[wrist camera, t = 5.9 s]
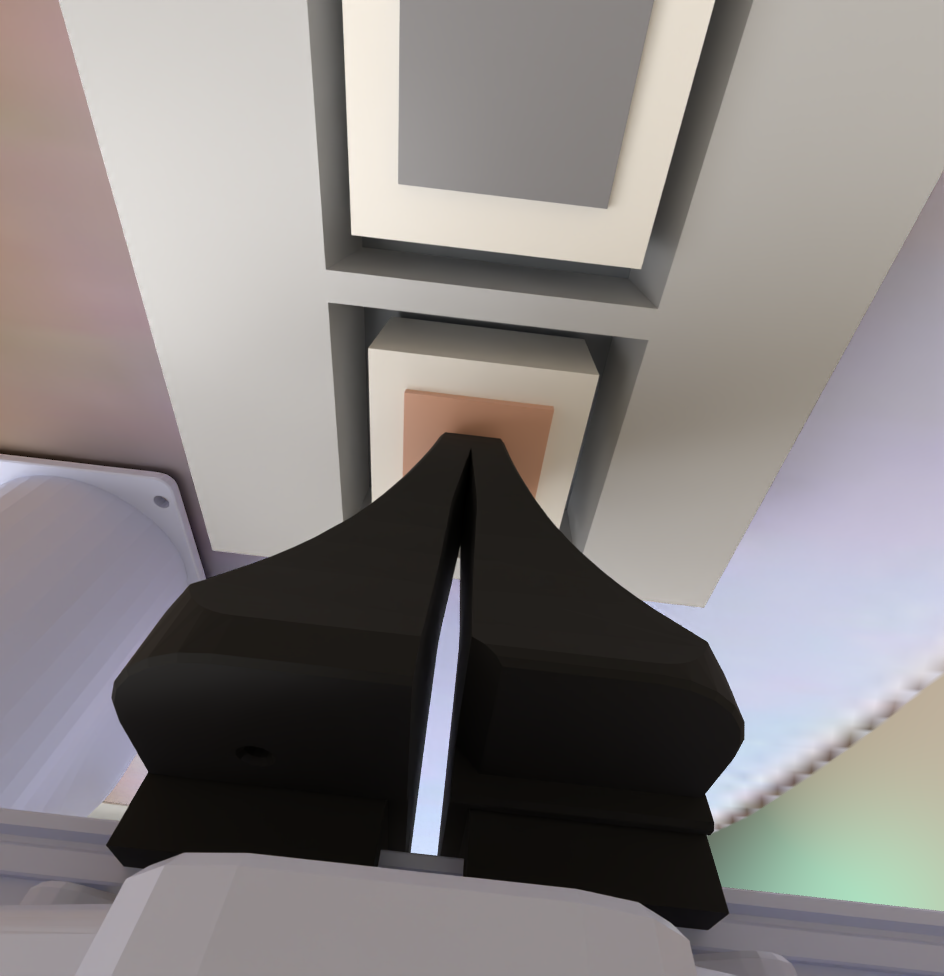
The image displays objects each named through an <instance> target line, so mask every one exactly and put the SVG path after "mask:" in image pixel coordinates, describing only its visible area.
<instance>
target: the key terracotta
mask: <svg viewBox="0 0 944 976" xmlns="http://www.w3.org/2000/svg"><path fill="white" fill-rule="evenodd" d="M368 365H369V405H370V445H371V485H372V502H374V501H375V500H376V499H378V498H379V497H380V496H381V495H383V494H384V493H385V492H386V491H387V490H389V489H390V488H391V487H392V486H393V485H394V484H396V483H397V482H398V481H399V480H400V479H401V478H402V477H404V476H405V475H406V474H407V473H408V472H409V471H410V470H411V469H412V468H413V467H414V466H415V465H416V464H417V463H418V462H419V461H420V460H421V459H422V457H423V456H424V455H425V454H426V453H427V452H428V451H429V450H430V448H431V447H432V446H433V445H434V444H435V442H436V441H437V440H438V438H439V437H440V436H441V435H442V434H444V433H445V432H448V433H457V434H466V435H474V436H483V437H492V438H500V439H501V440H502V441H503V442H504V444H505V446H506V449H507V451H508V453H509V455H510V457H511V460H512V461H513V463H514V465H515V467H516V469H517V471H518V473H519V474H520V476H521V478H522V479H523V481H524V483H525V484H526V486H527V487H528V489H529V491H530V492H531V494H532V495H533V497H534V498H535V500H536V501H537V502H538V504H539V505H540V506H541V508H542V509H543V511H544V512H545V513H546V515H547V516H548V517H549V518H550V520H551V521H552V522H553V523H554V525H555V526H556V527H557V528H558V529H559V528H560V524H561V521H562V517H563V513H564V509H565V505H566V501H567V498H568V494H569V490H570V486H571V482H572V478H573V475H574V471H575V467H576V463H577V459H578V455H579V452H580V448H581V444H582V440H583V436H584V432H585V429H586V425H587V421H588V417H589V413H590V409H591V406H592V402H593V398H594V394H595V390H596V386H597V382H598V379H599V373H598V371H597V369H596V366H595V364H594V361H593V359H592V357H591V354H590V352H589V349H588V347H587V345H586V342H585V340H584V339H578V338H569V337H561V336H552V335H544V334H535V333H527V332H518V331H510V330H501V329H493V328H485V327H476V326H468V325H459V324H451V323H442V322H434V321H425V320H417V319H408V318H400V317H391V318H390V319H389V320H388V322H387V323H386V325H385V326H384V327H383V329H382V330H381V331H380V333H379V334H378V335H377V337H376V338H375V339H374V341H373V342H372V344H371V345H370V346H369V348H368Z"/></svg>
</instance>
